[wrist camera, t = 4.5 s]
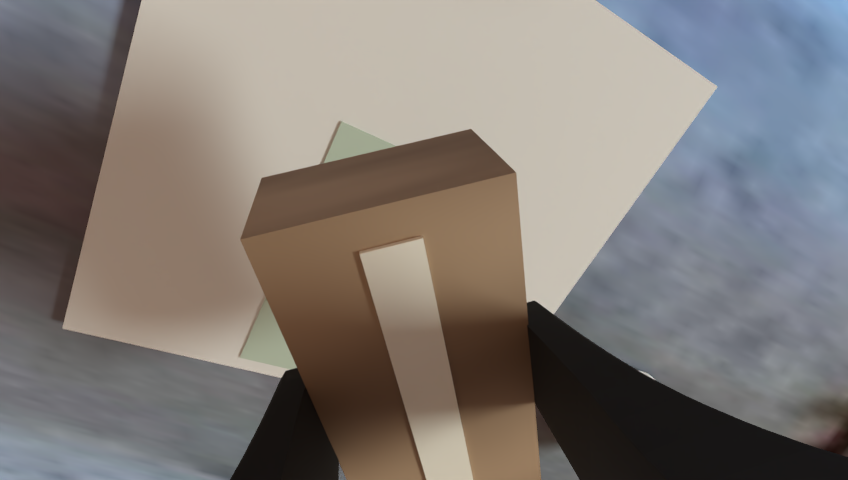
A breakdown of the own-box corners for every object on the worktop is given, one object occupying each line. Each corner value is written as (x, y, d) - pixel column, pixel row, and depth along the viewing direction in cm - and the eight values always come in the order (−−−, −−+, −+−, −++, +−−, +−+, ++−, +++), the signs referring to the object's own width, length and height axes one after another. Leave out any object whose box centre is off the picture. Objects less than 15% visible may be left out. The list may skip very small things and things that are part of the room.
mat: (707, 84, 19) (719, 87, 19) (473, 413, 26) (476, 423, 25) (212, -263, 12) (207, -276, 11) (69, 319, 19) (61, 330, 18)
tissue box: (507, 408, 16) (543, 493, 13) (365, 448, 15) (374, 543, 13) (470, 128, 11) (518, 174, 8) (261, 178, 10) (239, 242, 8)
